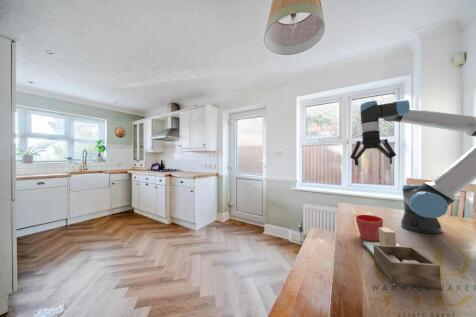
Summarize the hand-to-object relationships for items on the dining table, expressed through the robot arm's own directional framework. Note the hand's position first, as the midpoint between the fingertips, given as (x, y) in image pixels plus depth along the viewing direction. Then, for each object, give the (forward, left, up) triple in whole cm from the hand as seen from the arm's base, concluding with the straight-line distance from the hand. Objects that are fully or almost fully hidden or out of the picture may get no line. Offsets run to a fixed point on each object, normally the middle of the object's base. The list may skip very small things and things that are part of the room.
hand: (373, 171), depth 97 cm
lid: (+7, +25, -31) cm, 40 cm away
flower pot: (+7, +9, -32) cm, 34 cm away
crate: (+9, +39, -32) cm, 51 cm away
